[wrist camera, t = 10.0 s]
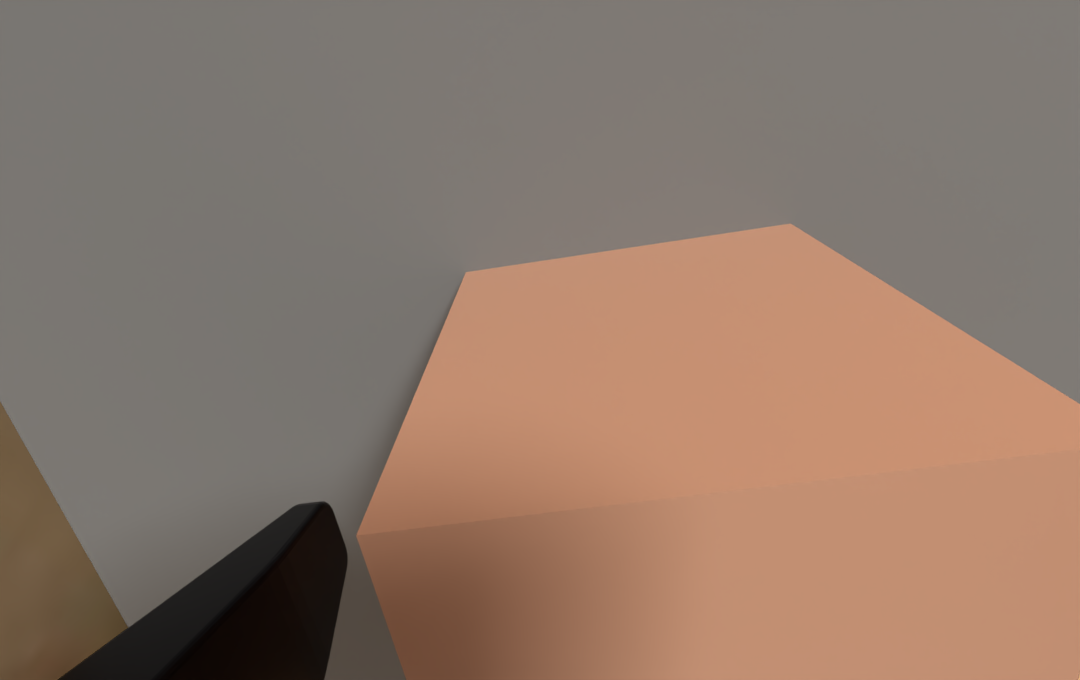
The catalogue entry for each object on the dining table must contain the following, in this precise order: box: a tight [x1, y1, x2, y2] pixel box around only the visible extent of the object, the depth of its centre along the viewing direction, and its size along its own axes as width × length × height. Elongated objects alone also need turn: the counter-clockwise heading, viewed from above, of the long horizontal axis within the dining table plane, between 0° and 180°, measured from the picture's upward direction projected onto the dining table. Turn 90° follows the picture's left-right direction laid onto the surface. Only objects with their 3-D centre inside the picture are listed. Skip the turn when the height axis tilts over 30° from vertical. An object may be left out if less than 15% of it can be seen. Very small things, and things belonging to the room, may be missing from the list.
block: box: [356, 224, 1080, 680], centre depth 8 cm, size 5×5×6 cm
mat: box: [0, 0, 1080, 680], centre depth 11 cm, size 22×16×1 cm
